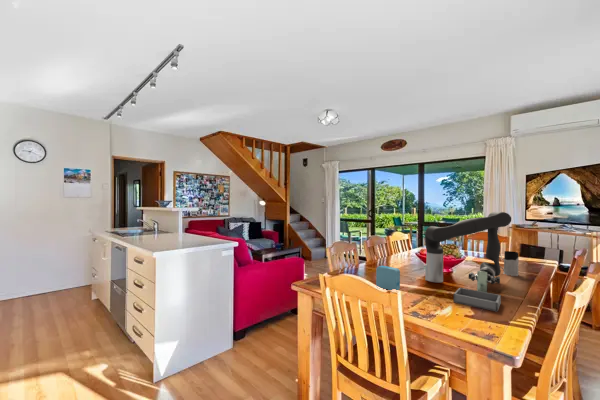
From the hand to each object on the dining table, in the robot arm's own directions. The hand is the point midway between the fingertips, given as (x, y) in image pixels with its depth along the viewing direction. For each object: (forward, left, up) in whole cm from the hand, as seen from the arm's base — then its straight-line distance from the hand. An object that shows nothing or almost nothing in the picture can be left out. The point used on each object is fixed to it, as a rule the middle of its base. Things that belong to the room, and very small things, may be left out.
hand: (482, 280), depth 149 cm
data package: (-41, -25, -8) cm, 49 cm away
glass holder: (+6, +61, -8) cm, 61 cm away
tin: (0, 0, -7) cm, 7 cm away
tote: (0, -16, -7) cm, 18 cm away
